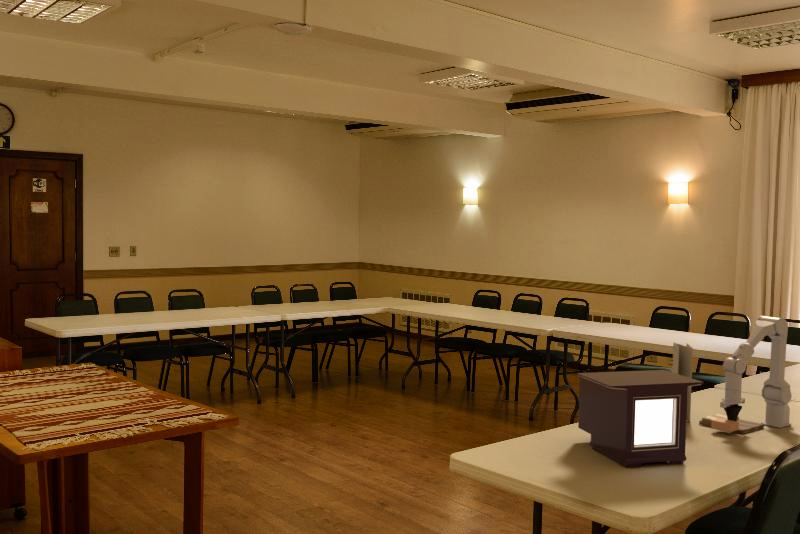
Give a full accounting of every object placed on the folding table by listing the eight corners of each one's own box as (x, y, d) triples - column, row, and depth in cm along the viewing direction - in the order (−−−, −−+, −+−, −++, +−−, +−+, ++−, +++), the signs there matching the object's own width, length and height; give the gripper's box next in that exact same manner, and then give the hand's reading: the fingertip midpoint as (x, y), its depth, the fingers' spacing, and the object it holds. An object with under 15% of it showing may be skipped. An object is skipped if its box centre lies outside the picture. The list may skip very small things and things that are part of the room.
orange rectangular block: (719, 425, 305) (720, 417, 305) (738, 429, 299) (739, 422, 299) (711, 427, 301) (711, 420, 301) (730, 432, 295) (730, 424, 295)
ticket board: (721, 418, 323) (721, 412, 323) (763, 428, 309) (763, 421, 308) (699, 424, 313) (699, 417, 313) (742, 434, 299) (742, 427, 299)
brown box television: (702, 463, 261) (705, 382, 260) (609, 470, 252) (611, 386, 251) (642, 435, 295) (645, 364, 294) (558, 440, 286) (560, 367, 284)
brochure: (690, 422, 317) (692, 348, 315) (675, 421, 318) (678, 347, 316) (684, 413, 331) (687, 343, 329) (671, 413, 332) (673, 342, 330)
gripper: (733, 385, 310) (732, 419, 310) (713, 389, 301) (712, 424, 302) (750, 388, 304) (749, 422, 305) (730, 392, 295) (729, 428, 296)
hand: (731, 423), depth 303 cm, fingers closed
